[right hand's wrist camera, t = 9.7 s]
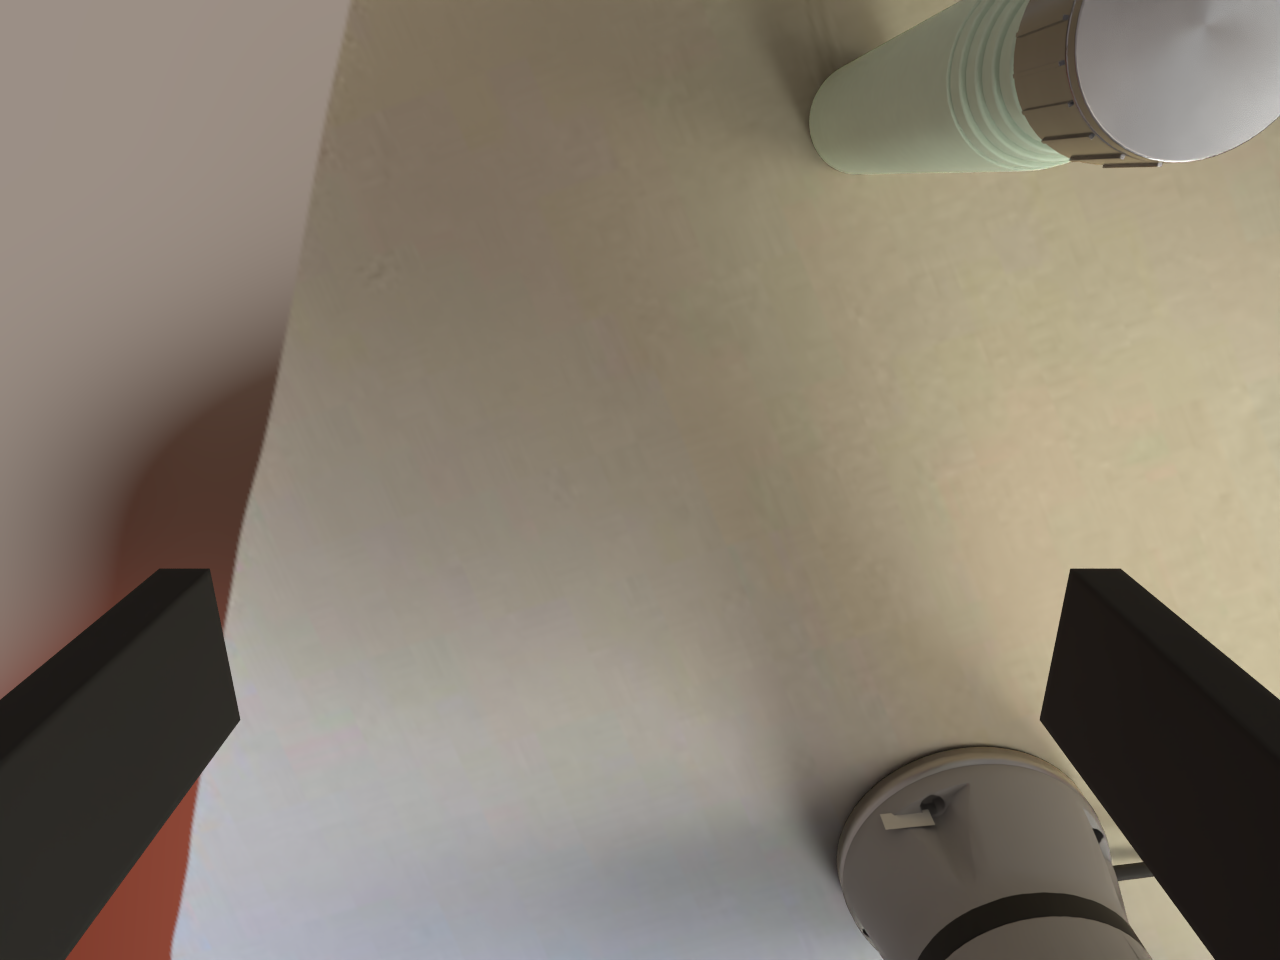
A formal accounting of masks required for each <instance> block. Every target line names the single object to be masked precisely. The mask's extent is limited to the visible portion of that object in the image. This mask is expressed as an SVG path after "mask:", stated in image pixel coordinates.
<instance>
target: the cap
mask: <svg viewBox="0 0 1280 960" xmlns="http://www.w3.org/2000/svg"><path fill="white" fill-rule="evenodd" d="M1016 37H1017V38H1016V44H1015V51H1014V64H1013V67H1014V68H1013V71H1014V74H1013V79H1014V81H1015V88H1016V92H1017V97H1018V101H1019V104H1020V106H1021V109H1022V114H1023V115H1024V116H1025V117H1026V119H1027V121H1028V123H1029V125H1030V126H1031V128H1032V129H1033V130H1034V132H1035V133H1036V134H1037V135H1038V137H1039V138H1040V139H1041V142H1042V143H1043V144H1047V145H1048V146H1049V147H1051V148H1052V149H1053V150H1055V151H1056V152H1058V153H1059V154H1061V155H1064V156H1066V157H1068V158H1070V159H1069V161H1071V162H1082V163H1088V164H1095V165H1103V168H1126V167H1161V166H1162V163H1183V162H1191V161H1199V160H1203V159H1206V158H1210V157H1214V156H1217V155H1219V154H1222V153H1224V152H1227V151H1229V150H1232V149H1234V148H1236V147H1237V146H1239V145H1241V144H1243V143H1245V142H1247V141H1248V140H1250V139H1251V138H1253V137H1254V136H1256V135H1257V134H1259V133H1260V132H1262V131H1263V130H1264V129H1265V128H1267V127H1268V126H1269V125H1270V124H1271V123H1272V122H1274V121H1275V120H1276V119H1277V118H1278V117H1279V116H1280V0H1030V1H1029V3H1028V5H1027V7H1026V9H1025V12H1024V14H1023V17H1022V20H1021V22H1020V26H1019V30H1018V32H1017V33H1016Z"/></svg>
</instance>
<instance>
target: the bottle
mask: <svg viewBox="0 0 1280 960" xmlns="http://www.w3.org/2000/svg"><path fill="white" fill-rule="evenodd" d="M1029 1H1030V0H961V1H959V2H958V3H956V4H954V5H952V6H950V7H949V8H947V9H945V10H943V11H941V12H940V13H938V14H936V15H934V16H932V17H931V18H929V19H927V20H925V21H923V22H922V23H920V24H918V25H916V26H914V27H913V28H911V29H909V30H907V31H905V32H904V33H902V34H900V35H898V36H897V37H895V38H893V39H891V40H889V41H888V42H886V43H884V44H882V45H880V46H879V47H877V48H875V49H873V50H871V51H870V52H868V53H866V54H864V55H862V56H861V57H859V58H857V59H855V60H853V61H852V62H850V63H848V64H846V65H844V66H843V67H841V68H839V69H838V70H836V71H835V72H834V73H832V74H831V75H830V76H829V77H828V78H827V79H826V80H825V81H824V82H823V84H822V85H821V86H820V88H819V90H818V91H817V93H816V95H815V98H814V100H813V103H812V106H811V110H810V117H809V129H810V135H811V139H812V142H813V145H814V147H815V149H816V151H817V152H818V154H819V156H820V157H821V158H822V159H823V160H824V161H825V162H826V163H827V164H828V165H829V166H831V167H833V168H834V169H836V170H838V171H840V172H844V173H847V174H907V173H958V172H1009V171H1036V170H1043V169H1047V168H1051V167H1055V166H1058V165H1062V164H1066V163H1069V162H1071V161H1069V159H1070V158H1068V157H1066V156H1064V155H1061V154H1059V153H1058V152H1056V151H1055V150H1053V149H1052V148H1051V147H1049V146H1048V145H1047V144H1043V143H1042V142H1041V139H1040V138H1039V137H1038V135H1037V134H1036V133H1035V132H1034V130H1033V129H1032V128H1031V126H1030V125H1029V123H1028V121H1027V119H1026V117H1025V116H1024V115H1023V114H1022V109H1021V106H1020V104H1019V101H1018V97H1017V92H1016V88H1015V81H1014V79H1013V74H1014V71H1013V68H1014V67H1013V64H1014V51H1015V44H1016V38H1017V37H1016V33H1017V32H1018V30H1019V26H1020V22H1021V20H1022V17H1023V14H1024V12H1025V9H1026V7H1027V5H1028V3H1029Z"/></svg>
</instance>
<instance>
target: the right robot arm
mask: <svg viewBox="0 0 1280 960" xmlns="http://www.w3.org/2000/svg"><path fill="white" fill-rule="evenodd" d="M239 721H240V716H239V711H238V706H237V701H236V696H235V691H234V686H233V681H232V676H231V671H230V666H229V662H228V657H227V652H226V647H225V642H224V637H223V632H222V627H221V622H220V617H219V612H218V607H217V602H216V597H215V593H214V588H213V583H212V578H211V573H210V569H159V570H157V571H156V572H155V573H154V574H152V575H151V576H150V577H149V578H148V579H146V580H145V581H144V582H143V583H142V584H140V585H139V586H138V587H137V588H135V589H134V590H133V591H132V592H131V593H129V594H128V595H127V596H126V597H125V598H123V599H122V600H121V601H120V602H119V603H117V604H116V605H115V606H114V607H112V608H111V609H110V610H109V611H108V612H106V613H105V614H104V615H103V616H101V617H100V618H99V619H98V620H97V621H95V622H94V623H93V624H92V625H91V626H89V627H88V628H87V629H86V630H84V631H83V632H82V633H81V634H80V635H78V636H77V637H76V638H75V639H74V640H72V641H71V642H70V643H69V644H67V645H66V646H65V647H64V648H63V649H61V650H60V651H59V652H58V653H57V654H55V655H54V656H53V657H52V658H50V659H49V660H48V661H47V662H46V663H44V664H43V665H42V666H41V667H40V668H38V669H37V670H36V671H35V672H34V673H32V674H31V675H30V676H29V677H27V678H26V679H25V680H24V681H23V682H21V683H20V684H19V685H18V686H16V687H15V688H14V689H13V690H12V691H10V692H9V693H8V694H7V695H6V696H4V697H3V698H2V699H1V700H0V960H65V959H66V958H67V956H68V955H69V953H70V952H71V951H72V949H73V948H74V947H75V945H76V944H77V943H78V941H79V940H80V938H81V937H82V936H83V934H84V933H85V932H86V930H87V929H88V927H89V926H90V925H91V923H92V922H93V921H94V919H95V918H96V916H97V915H98V914H99V912H100V911H101V910H102V908H103V907H104V906H105V904H106V903H107V901H108V900H109V899H110V897H111V896H112V895H113V893H114V892H115V891H116V889H117V888H118V886H119V885H120V884H121V882H122V881H123V880H124V878H125V877H126V875H127V874H128V873H129V871H130V870H131V869H132V867H133V866H134V865H135V863H136V862H137V860H138V859H139V858H140V856H141V855H142V854H143V852H144V851H145V849H146V848H147V847H148V845H149V844H150V843H151V841H152V840H153V839H154V837H155V836H156V834H157V833H158V832H159V830H160V829H161V828H162V826H163V825H164V823H165V822H166V821H167V819H168V818H169V817H170V815H171V814H172V813H173V811H174V810H175V808H176V807H177V806H178V804H179V803H180V802H181V800H182V799H183V797H184V796H185V795H186V793H187V792H188V791H189V789H190V788H191V787H192V785H193V784H194V782H195V781H196V780H197V778H198V777H199V776H200V774H201V773H202V771H203V770H204V769H205V767H206V766H207V765H208V763H209V762H210V761H211V759H212V758H213V756H214V755H215V754H216V752H217V751H218V750H219V748H220V747H221V745H222V744H223V743H224V741H225V740H226V739H227V737H228V736H229V735H230V733H231V732H232V730H233V729H234V728H235V726H236V725H237V724H238V722H239ZM1040 721H1041V722H1042V724H1043V725H1044V726H1045V728H1046V729H1047V730H1048V732H1049V733H1050V735H1051V736H1052V737H1053V739H1054V740H1055V741H1056V743H1057V744H1058V745H1059V747H1060V748H1061V750H1062V751H1063V752H1064V754H1065V755H1066V756H1067V758H1068V759H1069V761H1070V762H1071V763H1072V765H1073V766H1074V767H1075V769H1076V770H1077V771H1078V773H1079V774H1080V776H1081V777H1082V778H1083V780H1084V781H1085V782H1086V784H1087V785H1088V787H1089V788H1090V789H1091V791H1092V792H1093V793H1094V795H1095V796H1096V797H1097V799H1098V800H1099V802H1100V803H1101V804H1102V806H1103V807H1104V808H1105V810H1106V811H1107V813H1108V814H1109V815H1110V817H1111V818H1112V819H1113V821H1114V822H1115V823H1116V825H1117V826H1118V828H1119V829H1120V830H1121V832H1122V833H1123V834H1124V836H1125V837H1126V839H1127V840H1128V841H1129V843H1130V844H1131V845H1132V847H1133V848H1134V849H1135V851H1136V852H1137V854H1138V855H1139V856H1140V858H1141V859H1142V860H1143V862H1140V863H1133V864H1124V865H1116V866H1112V862H1111V854H1110V849H1109V845H1108V841H1107V838H1106V835H1105V832H1104V830H1103V828H1102V826H1101V823H1100V821H1099V819H1098V817H1097V815H1096V813H1095V811H1094V810H1093V808H1092V807H1091V805H1090V804H1089V802H1088V801H1087V800H1086V798H1085V797H1084V795H1083V794H1082V793H1081V791H1080V790H1079V789H1078V787H1077V786H1076V785H1075V784H1074V782H1073V781H1072V780H1071V779H1070V778H1069V777H1068V776H1067V775H1065V774H1064V773H1063V772H1062V771H1060V770H1059V769H1058V768H1056V767H1054V766H1053V765H1051V764H1050V763H1048V762H1046V761H1044V760H1042V759H1040V758H1038V757H1035V756H1032V755H1030V754H1027V753H1023V752H1020V751H1016V750H1011V749H1005V748H996V747H968V748H959V749H953V750H947V751H943V752H939V753H935V754H932V755H929V756H926V757H923V758H920V759H918V760H916V761H913V762H911V763H909V764H907V765H905V766H903V767H901V768H899V769H898V770H896V771H894V772H893V773H891V774H889V775H888V776H887V777H885V778H884V779H883V780H881V781H880V782H878V783H877V784H876V785H875V786H874V787H873V788H872V789H871V790H869V791H868V792H867V794H866V795H865V796H864V797H863V798H862V799H861V800H860V801H859V803H858V804H857V805H856V806H855V808H854V809H853V811H852V812H851V814H850V816H849V817H848V819H847V821H846V823H845V825H844V827H843V830H842V833H841V836H840V839H839V844H838V849H837V870H838V876H839V880H840V884H841V887H842V891H843V894H844V898H845V901H846V904H847V906H848V909H849V911H850V913H851V915H852V917H853V919H854V921H855V923H856V925H857V926H858V928H859V929H860V931H861V932H862V934H863V935H864V936H865V938H866V939H867V940H868V941H869V943H870V944H871V945H872V946H873V947H874V948H875V949H876V950H877V951H878V952H879V953H880V955H881V956H882V958H883V959H884V960H1152V958H1151V957H1150V955H1149V954H1148V952H1147V951H1146V949H1145V948H1144V946H1143V945H1142V943H1141V942H1140V940H1139V939H1138V937H1137V936H1136V934H1135V932H1134V931H1133V929H1132V928H1131V926H1130V925H1129V923H1128V919H1127V915H1126V911H1125V907H1124V903H1123V899H1122V895H1121V892H1120V888H1119V884H1118V881H1122V880H1130V879H1138V878H1146V877H1153V876H1154V877H1155V878H1156V880H1157V881H1158V882H1159V884H1160V885H1161V886H1162V888H1163V889H1164V891H1165V892H1166V893H1167V895H1168V896H1169V897H1170V899H1171V900H1172V901H1173V903H1174V904H1175V906H1176V907H1177V908H1178V910H1179V911H1180V912H1181V914H1182V915H1183V917H1184V918H1185V919H1186V921H1187V922H1188V923H1189V925H1190V926H1191V927H1192V929H1193V930H1194V932H1195V933H1196V934H1197V936H1198V937H1199V938H1200V940H1201V941H1202V943H1203V944H1204V945H1205V947H1206V948H1207V949H1208V951H1209V952H1210V953H1211V955H1212V956H1213V958H1214V959H1215V960H1280V700H1279V699H1278V698H1277V697H1276V696H1274V695H1273V694H1272V693H1271V692H1270V691H1268V690H1267V689H1266V688H1265V687H1264V686H1262V685H1261V684H1260V683H1259V682H1257V681H1256V680H1255V679H1254V678H1253V677H1251V676H1250V675H1249V674H1248V673H1247V672H1245V671H1244V670H1243V669H1242V668H1240V667H1239V666H1238V665H1237V664H1236V663H1234V662H1233V661H1232V660H1231V659H1230V658H1228V657H1227V656H1226V655H1225V654H1223V653H1222V652H1221V651H1220V650H1219V649H1217V648H1216V647H1215V646H1214V645H1213V644H1211V643H1210V642H1209V641H1208V640H1206V639H1205V638H1204V637H1203V636H1202V635H1200V634H1199V633H1198V632H1197V631H1196V630H1194V629H1193V628H1192V627H1191V626H1189V625H1188V624H1187V623H1186V622H1185V621H1183V620H1182V619H1181V618H1180V617H1179V616H1177V615H1176V614H1175V613H1174V612H1172V611H1171V610H1170V609H1169V608H1168V607H1166V606H1165V605H1164V604H1163V603H1162V602H1160V601H1159V600H1158V599H1157V598H1155V597H1154V596H1153V595H1152V594H1151V593H1149V592H1148V591H1147V590H1146V589H1145V588H1143V587H1142V586H1141V585H1140V584H1138V583H1137V582H1136V581H1135V580H1134V579H1132V578H1131V577H1130V576H1129V575H1128V574H1126V573H1125V572H1124V571H1123V570H1121V569H1070V573H1069V578H1068V583H1067V588H1066V593H1065V597H1064V602H1063V607H1062V612H1061V617H1060V622H1059V627H1058V632H1057V637H1056V642H1055V647H1054V652H1053V657H1052V662H1051V666H1050V671H1049V676H1048V681H1047V686H1046V691H1045V696H1044V701H1043V706H1042V711H1041V716H1040Z"/></svg>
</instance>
